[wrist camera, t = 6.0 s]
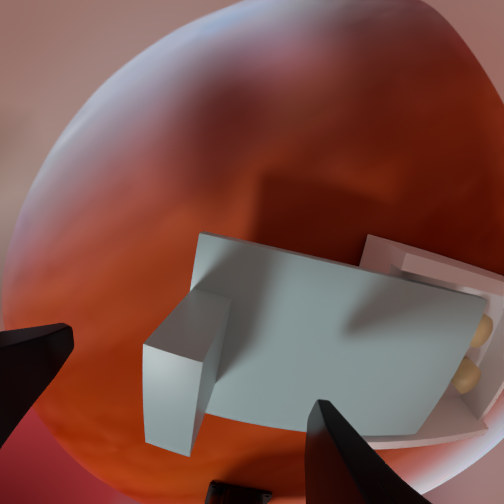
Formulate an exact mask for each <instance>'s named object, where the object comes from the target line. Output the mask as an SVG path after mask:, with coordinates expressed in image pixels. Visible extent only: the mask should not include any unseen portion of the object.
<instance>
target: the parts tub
mask: <svg viewBox="0 0 504 504" xmlns="http://www.w3.org/2000/svg"><path fill="white" fill-rule="evenodd" d="M359 267H363V268H367V269H371V270H375V271H379V272H384V273H388V274H392V275H396V276H400V277H404V278H409V279H413V280H417V281H421V282H425V283H429V284H433V285H437V286H441V287H445V288H449V289H453V290H457V291H461V292H465V293H469V294H473V295H477V296H481V297H483V298H485V299H486V300H488V302H487V304H486V307H485V310H484V312H483V315H482V317H481V320H480V322H479V325H478V327H477V329H476V332H475V334H474V336H473V338H472V341H471V343H470V345H469V347H468V349H467V351H466V353H465V355H464V357H463V359H462V361H461V363H460V365H459V367H458V369H457V371H456V372H455V374H454V376H453V378H452V380H451V381H450V383H449V385H448V386H447V388H446V390H445V391H444V393H443V395H442V396H441V398H440V400H439V401H438V403H437V404H436V406H435V407H434V409H433V410H432V412H431V413H430V415H429V416H428V418H427V419H426V420H425V422H424V423H423V425H422V426H421V427H420V429H419V430H418V431H417V433H416V434H409V435H384V436H363V435H361V437H362V438H363V439H364V440H365V441H366V442H367V443H368V444H369V445H370V446H371V448H372V449H396V448H409V447H419V446H427V445H434V444H441V443H447V442H453V441H458V440H463V439H468V438H473V437H477V436H481V435H484V434H485V432H486V431H487V430H488V427H487V425H486V424H485V423H484V421H483V419H484V418H485V416H486V415H487V413H488V412H489V410H490V409H491V407H492V406H493V404H494V403H495V401H496V400H497V398H498V397H499V395H500V394H501V392H502V390H503V389H504V276H502V275H499V274H496V273H494V272H491V271H488V270H485V269H482V268H479V267H476V266H473V265H470V264H467V263H464V262H461V261H458V260H455V259H452V258H448V257H445V256H442V255H439V254H436V253H432V252H429V251H426V250H422V249H419V248H416V247H412V246H409V245H405V244H402V243H398V242H395V241H391V240H388V239H384V238H381V237H377V236H373V235H370V234H368V235H367V239H366V243H365V247H364V250H363V254H362V258H361V261H360V265H359Z"/></svg>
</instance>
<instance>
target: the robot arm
mask: <svg viewBox="0 0 504 504" xmlns="http://www.w3.org/2000/svg"><path fill="white" fill-rule="evenodd" d="M73 349H74V338H73V330H72V327H71V326H69V325H67V324H65V323H57V324H51V325H44V326H37V327H31V328H23V329H16V330H9V331H1V332H0V449H1V447H2V445H3V444H4V443H5V441H6V440H7V438H8V437H9V436H10V434H11V433H12V431H13V430H14V429H15V427H16V426H17V425H18V423H19V422H20V421H21V419H22V418H23V417H24V415H25V414H26V413H27V411H28V410H29V409H30V407H31V406H32V405H33V404H34V402H35V401H36V400H37V399H38V397H39V396H40V395H41V394H42V392H43V391H44V390H45V389H46V387H47V386H48V385H49V384H50V382H51V381H52V380H53V379H54V377H55V376H56V375H57V373H58V372H59V370H60V369H61V367H62V366H63V364H64V363H65V361H66V360H67V358H68V357H69V355H70V354H71V352H72V351H73ZM305 486H306V504H432V503H431V502H429V501H428V500H427V499H425V498H424V497H423V496H422V495H420V494H419V493H418V492H417V491H415V490H414V489H413V488H412V487H410V486H409V485H408V484H407V483H406V482H405V481H403V480H402V479H401V478H400V477H399V476H398V475H397V474H396V473H395V472H394V471H393V470H392V469H391V468H390V467H389V466H388V465H387V464H385V461H384V460H383V459H382V458H381V457H380V456H379V455H378V454H377V453H376V452H375V451H374V450H373V449H372V448H371V446H370V445H369V444H368V443H367V442H366V441H365V440H364V439H363V438H362V437H361V435H360V434H359V433H358V432H357V431H356V430H355V429H354V428H353V427H352V426H351V424H350V423H349V422H348V421H347V420H346V419H345V418H344V417H343V415H342V414H341V413H340V412H339V411H338V410H337V409H336V407H335V406H334V405H333V404H332V403H331V402H330V401H329V400H324V399H318V400H316V402H315V403H314V406H313V408H312V410H311V412H310V414H309V416H308V420H307V433H306V445H305ZM271 497H272V492H268V491H260V490H254V489H247V488H241V487H236V486H231V485H226V484H221V483H216V482H210V485H209V489H208V492H207V496H206V500H205V504H267V503H268V502H269V500H270V499H271Z"/></svg>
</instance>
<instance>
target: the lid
mask: <svg viewBox="0 0 504 504" xmlns="http://www.w3.org/2000/svg"><path fill="white" fill-rule="evenodd" d="M487 302H488V300H486V299H485V298H483V297H481V296H477V295H473V294H469V293H465V292H461V291H457V290H453V289H449V288H445V287H441V286H437V285H433V284H429V283H425V282H421V281H417V280H413V279H409V278H404V277H400V276H396V275H392V274H388V273H384V272H379V271H375V270H371V269H367V268H363V267H358V266H354V265H350V264H346V263H341V262H337V261H333V260H329V259H324V258H320V257H316V256H311V255H307V254H303V253H298V252H294V251H290V250H285V249H281V248H277V247H272V246H268V245H263V244H259V243H254V242H250V241H246V240H241V239H237V238H232V237H228V236H223V235H219V234H214V233H210V232H205V231H203V232H201V233H199V238H198V244H197V250H196V256H195V262H194V269H193V275H192V282H191V288H190V292H189V293H188V294H187V295H186V297H185V298H184V299H183V300H182V301H181V302H180V303H179V304H178V305H177V307H176V308H175V309H174V310H173V311H172V312H171V313H170V314H169V315H168V317H167V318H166V319H165V320H164V321H163V322H162V323H161V324H160V325H159V327H158V328H157V329H156V330H155V331H154V332H153V333H152V334H151V336H150V337H149V338H148V339H147V340H146V341H145V342H144V344H143V407H144V427H145V441H146V442H147V443H150V444H152V445H155V446H158V447H161V448H163V449H166V450H169V451H172V452H176V453H179V454H182V455H185V456H189V457H190V454H191V451H192V449H193V446H194V443H195V440H196V437H197V435H198V432H199V429H200V426H201V423H202V420H203V418H204V415H205V413H208V414H212V415H216V416H220V417H224V418H228V419H233V420H237V421H242V422H247V423H252V424H257V425H262V426H268V427H274V428H281V429H287V430H295V431H303V432H307V420H308V416H309V414H310V412H311V410H312V408H313V406H314V403H315V402H316V400H318V399H324V400H329V401H330V402H331V403H332V404H333V405H334V406H335V407H336V409H337V410H338V411H339V412H340V413H341V414H342V415H343V417H344V418H345V419H346V420H347V421H348V422H349V423H350V424H351V426H352V427H353V428H354V429H355V430H356V431H357V432H358V433H359V434H360V435H363V436H384V435H409V434H416V433H417V431H418V430H419V429H420V427H421V426H422V425H423V423H424V422H425V420H426V419H427V418H428V416H429V415H430V413H431V412H432V410H433V409H434V407H435V406H436V404H437V403H438V401H439V400H440V398H441V396H442V395H443V393H444V391H445V390H446V388H447V386H448V385H449V383H450V381H451V380H452V378H453V376H454V374H455V372H456V371H457V369H458V367H459V365H460V363H461V361H462V359H463V357H464V355H465V353H466V351H467V349H468V347H469V345H470V343H471V341H472V338H473V336H474V334H475V332H476V329H477V327H478V325H479V322H480V320H481V317H482V315H483V312H484V310H485V307H486V304H487Z"/></svg>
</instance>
